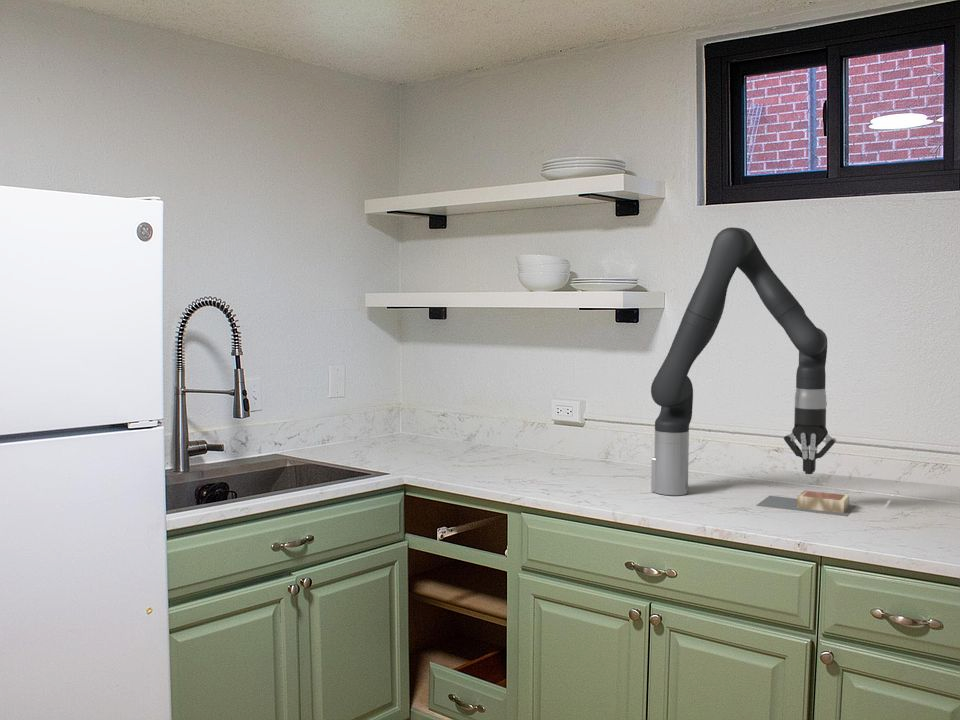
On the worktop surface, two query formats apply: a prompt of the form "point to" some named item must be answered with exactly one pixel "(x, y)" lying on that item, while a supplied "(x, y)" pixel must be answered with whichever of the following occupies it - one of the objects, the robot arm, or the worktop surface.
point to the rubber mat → (792, 505)
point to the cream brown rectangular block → (823, 501)
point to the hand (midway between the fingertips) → (809, 473)
